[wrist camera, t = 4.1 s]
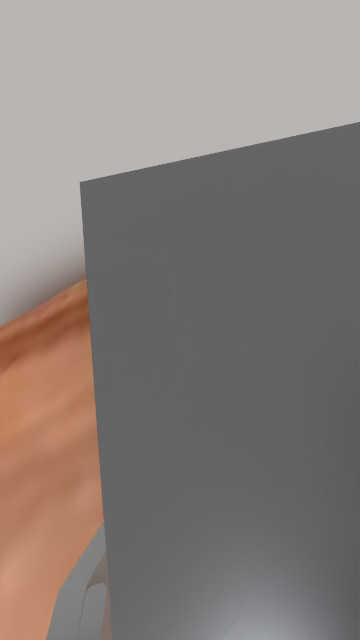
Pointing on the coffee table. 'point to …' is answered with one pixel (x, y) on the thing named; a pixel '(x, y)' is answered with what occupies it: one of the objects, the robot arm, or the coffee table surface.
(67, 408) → the coffee table surface
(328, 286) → the steel post
